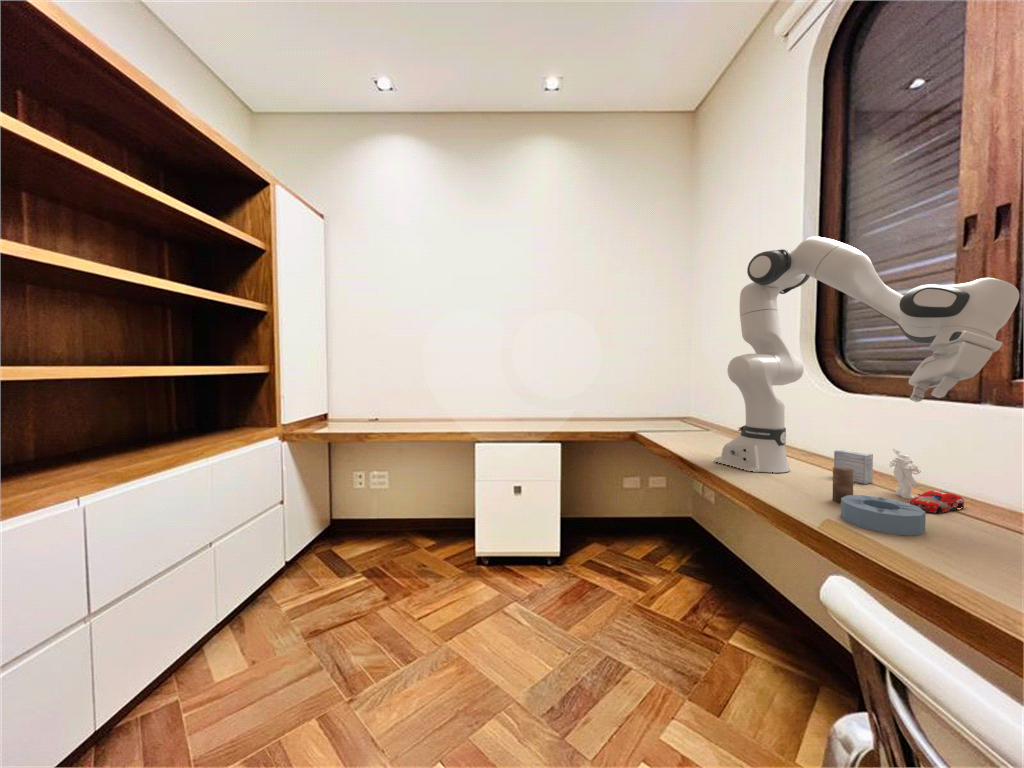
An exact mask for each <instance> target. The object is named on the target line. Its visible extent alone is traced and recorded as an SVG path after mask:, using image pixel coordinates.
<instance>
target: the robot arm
mask: <svg viewBox="0 0 1024 768" xmlns="http://www.w3.org/2000/svg"><path fill="white" fill-rule="evenodd" d="M746 270H747V271H746V273H747V276H748V278H749V279H750V280H751V281H752V282H750V283H748V284H746V285H745V286H743V288H742V289H741V291H740V293H739V319H740V321H739V322H740V327H741V328H740V329H741V337H742V338H743V341H745V342H746V343H747V344H748V345H750V346H751V348H753V350H754V352H755V353H744V354H742V355H741V354H740V355H738V356H735V357H733V358H731V360H730V361H729V363H728V365H727V372H726V373H727V375H728V378H729V379H730V381H731V382H732V383H733V384H735V386H737V388H738V389H739V391H740V392H741V395H742V398H743V401H744V405H745V424H744V425H743V426H740V427H738V430H737V431H738V432H740V435H739V436H737V437H735V438H733V439H732V440H730V441H728V442H726V444H724V445H723V448H722V450H721V451H722V452H721V456H718V457H716V458H715V459H714V463H716V462H718V463H717V464H719V463H722V464H721V465H723V464H726V465H725V466H727V465H730V466H729V467H731V466H733V467H732V468H734V467H737V468H736V469H738V468H740V469H739V470H742V469H744V470H743V471H746V470H747V471H746V472H750V471H753V472H754V473H772V472H773V473H774V474H775V473H776V474H777V473H787V472H789V471H791V468H790V466H789V463H788V462H789V461H788V458H787V452H786V444H787V430H786V429H787V428H786V427H785V404H784V402H783V401H782V400H781V399H778V398H777V396H776V395H775V392H774V388H773V387H774V386H785V385H788V384H792V383H795V382H797V381H799V380H800V379H801V378H802V376H803V374H804V370H805V368H804V364H803V363H804V362H803V361H802V360H801V359H800V358H799V357H798V356H796V355H795V354H794V353H793V352H792V351H791V350H790V348H789V346H788V344H787V343H786V340H785V339H784V336H783V333H782V330H781V324H780V318H779V310H778V309H779V308H778V303H777V299H778V296H779V294H781V295H785V294H787V293H789V292H790V291H792V290H795V289H797V288H798V287H800V286H802V285H804V284H805V283H806V282H807V281H808V280H809V279H810V277H811V278H813V279H816V280H817V281H819V282H821V283H823V284H825V285H827V286H828V287H831V288H833V289H835V290H837V291H839V292H841V293H844V294H846V295H847V296H848V297H851V298H854V299H855V300H857V301H859V302H860V303H862V304H863V305H865V306H866V307H869V308H870V309H872V310H874V311H875V312H877V313H879V315H882V316H883V317H885V318H886V319H888V320H890V321H892V322H893V323H894V324H896V325H897V326H898V327H899V329H900V331H901V333H902V334H903V335H904V337H906V338H907V339H908V340H910V341H912V342H915V343H920V344H930V345H929V349H930V350H931V351H932V352H933V353H932V355H930V356H928V357H926V358H924V359H923V360H922V361H921V363H920V364H919V365H918V366H917V367H916V369H915V371H914V372H913V373H912V375H911V376H910V377H909V379H908V384H909V385H910V386H913V389H912V394H911V395H910V397H909V400H910V401H913V402H914V403H919V402H922V401H923V399H924V398H925V393H926V391H928V390H929V389H931V388H933V389H932V391H931V394H930V395H931V396H932V397H935V398H938V399H939V398H940V399H941V398H945V396H946V395H947V393H948V392H949V391H950V390H951V389H952V388H953V387H955V386H956V385H957V384H958V382H959V381H963V380H968V379H971V378H973V377H975V376H976V375H977V374H978V373H979V372H980V371H981V370H982V368H984V366H985V365H986V364H987V362H988V361H989V360H990V358H991V356H993V353H995V352H998V351H999V350H1000V348H1001V347H1002V346H1003V341H1002V342H1001V341H1000V340H996V338H997V333H998V331H1000V330H1001V328H1004V326H1005V325H1006V324H1007V323H1008V321H1009V319H1010V318H1011V316H1012V314H1013V312H1014V311H1015V309H1016V307H1017V305H1018V302H1019V300H1020V292H1019V290H1018V288H1017V287H1016V286H1015V285H1014V284H1012V283H1010V282H1008V281H1006V280H1003V279H1001V278H1000V279H999V278H994V277H982V278H977V279H975V280H973V281H969V282H963V283H955V284H938V283H937V284H934V283H929V284H921V285H919V286H916V287H914V288H912V289H910V290H908V291H907V292H906V293H904V294H902V293H899V292H897V290H894V289H892V288H890V287H889V286H888V285H886V284H885V283H884V281H883V280H882V279H881V277H880V276H879V274H878V273H877V271H876V269H875V267H874V264H873V263H872V261H871V259H870V257H868V255H866V254H865V253H863V252H862V251H861V250H859V249H857V248H856V247H853V246H852V245H849V244H847V243H844V242H841V241H838V240H835V239H832V238H827V237H821V236H810V237H808V238H806V239H804V240H803V241H801V242H800V243H799V244H798V245H797V246H796V248H794V249H793V250H792V251H789V250H787V249H784V248H782V249H781V248H780V249H777V250H775V249H774V250H773V249H772V250H767V251H766V250H765V251H762V252H760V253H757V254H756V255H754V256H753V257H752V259H751V260H750V261H749V263H748V265H747V269H746ZM753 472H752V473H753Z"/></svg>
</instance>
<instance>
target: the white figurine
mask: <svg viewBox="0 0 1024 768" xmlns="http://www.w3.org/2000/svg"><path fill="white" fill-rule="evenodd" d="M892 450H893V452H894V454H895V455H896V456H897V457H894V458H892V460H889V467H890V468H892V467H894V469H893V476H894V477H895V479H896V480H897V483H898V487H897V488H896V490H895V495H897V496H900V497H901V498H903V499H907V500H908V499H910V500H911V499H914V498H916V497H915V496H914V495H912V487H913V488H916V489H917V488H919V487H920V484H919V483H918V481H917V480H915V478H914V476H913V474H914V475H918V474H921V468H919V466H917V464H916V463H913V462H915V460H914V459H912V457H911V456H910V455H908V454H901V451H900V450H899V451H898V450H896V449H895V448H893V449H892Z"/></svg>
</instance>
